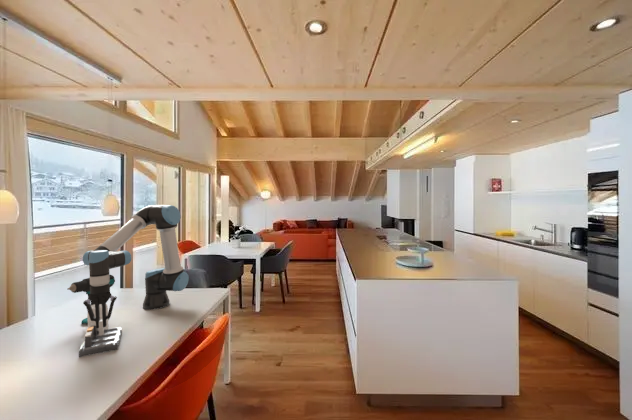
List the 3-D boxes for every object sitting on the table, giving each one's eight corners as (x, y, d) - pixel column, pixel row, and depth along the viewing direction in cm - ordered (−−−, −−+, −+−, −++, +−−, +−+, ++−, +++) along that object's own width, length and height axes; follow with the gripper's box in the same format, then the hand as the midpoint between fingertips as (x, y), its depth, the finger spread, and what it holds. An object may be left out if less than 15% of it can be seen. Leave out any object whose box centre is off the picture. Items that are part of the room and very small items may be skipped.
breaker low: (97, 332, 149) (97, 321, 149) (96, 335, 146) (95, 324, 145) (92, 333, 148) (92, 322, 148) (90, 336, 145) (90, 325, 144)
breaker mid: (94, 337, 143) (93, 326, 143) (92, 341, 140) (92, 329, 139) (88, 338, 142) (88, 327, 142) (87, 342, 139) (86, 330, 139)
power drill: (76, 333, 155) (74, 284, 155) (61, 331, 157) (60, 283, 156) (119, 314, 181) (117, 272, 180) (106, 313, 183) (104, 271, 182)
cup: (112, 331, 157) (111, 303, 156) (96, 338, 149) (95, 309, 149) (100, 329, 160) (99, 302, 159) (83, 336, 152) (83, 307, 151)
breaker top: (92, 343, 138) (92, 331, 137) (90, 347, 134) (90, 334, 134) (87, 344, 137) (86, 332, 137) (85, 348, 133) (84, 335, 133)
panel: (122, 332, 155) (121, 326, 155) (117, 349, 137) (117, 342, 137) (88, 338, 149) (87, 331, 149) (78, 357, 131) (78, 349, 131)
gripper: (117, 280, 148) (119, 328, 149) (84, 284, 143) (86, 334, 143) (115, 284, 142) (117, 334, 143) (80, 288, 136) (82, 340, 137)
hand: (101, 334), depth 143 cm, fingers closed
